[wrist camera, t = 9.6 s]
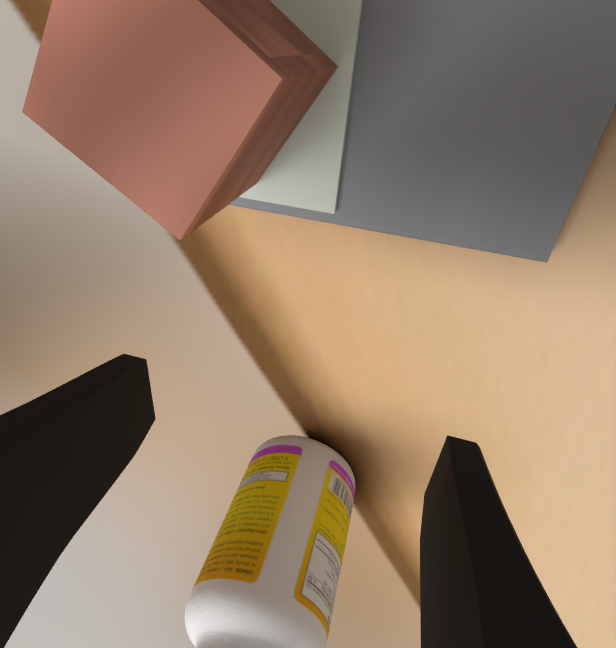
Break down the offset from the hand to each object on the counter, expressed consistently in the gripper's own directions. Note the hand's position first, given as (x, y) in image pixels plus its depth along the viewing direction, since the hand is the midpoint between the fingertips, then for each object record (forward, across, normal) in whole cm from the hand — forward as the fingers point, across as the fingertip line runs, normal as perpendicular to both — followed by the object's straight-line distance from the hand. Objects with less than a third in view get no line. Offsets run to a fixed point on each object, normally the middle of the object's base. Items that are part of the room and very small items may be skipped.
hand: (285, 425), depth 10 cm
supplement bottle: (+11, +1, +15) cm, 18 cm away
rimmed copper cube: (+9, +5, -6) cm, 12 cm away
